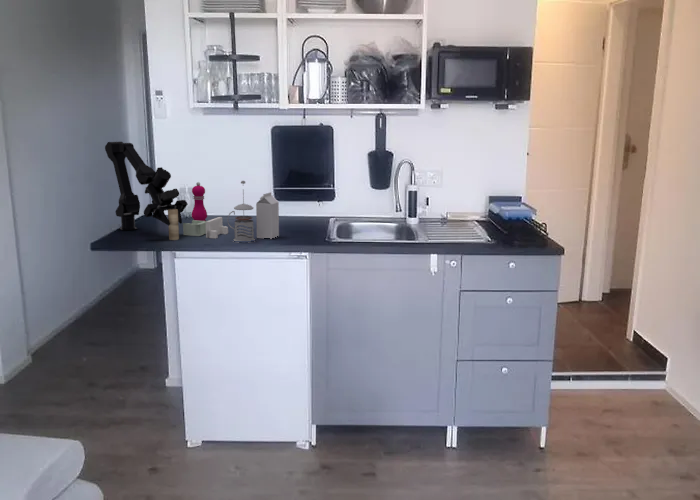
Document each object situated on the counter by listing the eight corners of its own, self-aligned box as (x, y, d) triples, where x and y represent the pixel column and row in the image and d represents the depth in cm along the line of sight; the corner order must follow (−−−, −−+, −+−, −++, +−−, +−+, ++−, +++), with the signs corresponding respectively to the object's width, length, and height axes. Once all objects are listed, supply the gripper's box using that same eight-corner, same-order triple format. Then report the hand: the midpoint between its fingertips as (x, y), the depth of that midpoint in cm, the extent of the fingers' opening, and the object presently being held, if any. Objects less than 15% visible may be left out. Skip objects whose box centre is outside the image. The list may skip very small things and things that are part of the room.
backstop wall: (206, 237, 270) (205, 221, 268) (219, 232, 281) (218, 217, 280) (215, 238, 269) (215, 222, 267) (228, 233, 280) (227, 217, 278)
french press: (256, 242, 262) (255, 181, 257) (227, 243, 260) (226, 181, 255) (255, 237, 272) (254, 179, 266) (228, 238, 270) (226, 179, 264)
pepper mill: (203, 226, 296) (202, 183, 291) (189, 225, 297) (187, 182, 293) (210, 223, 303) (208, 181, 298) (195, 222, 304) (194, 181, 300)
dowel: (168, 238, 267) (166, 209, 264) (177, 237, 269) (176, 208, 266) (170, 240, 263) (169, 210, 261) (180, 239, 265) (178, 209, 263)
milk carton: (279, 236, 275) (278, 192, 271) (271, 239, 268) (271, 194, 264) (264, 235, 277) (263, 191, 273) (256, 238, 270) (255, 193, 266)
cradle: (183, 235, 274) (182, 223, 273) (193, 231, 282) (193, 220, 281) (199, 236, 272) (198, 224, 271) (208, 232, 281) (208, 221, 280)
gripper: (146, 184, 256) (164, 214, 252) (184, 180, 271) (201, 209, 266) (135, 201, 263) (153, 231, 258) (173, 197, 277) (190, 225, 273)
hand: (175, 224), depth 264 cm, fingers open, 6 cm apart
